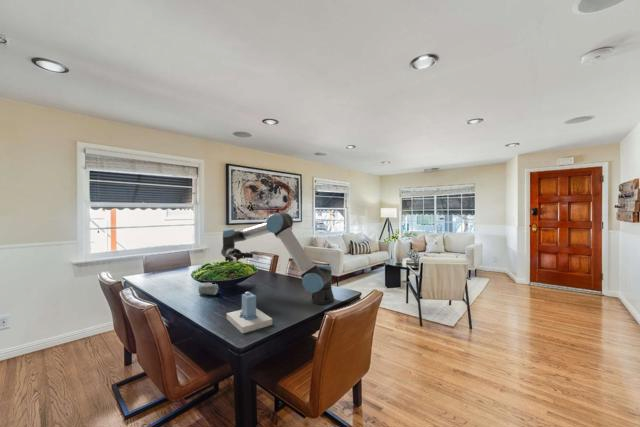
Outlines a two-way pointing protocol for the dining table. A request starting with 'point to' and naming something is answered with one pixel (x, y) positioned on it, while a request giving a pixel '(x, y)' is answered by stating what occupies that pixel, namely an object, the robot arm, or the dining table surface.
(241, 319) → the frame
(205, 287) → the spool
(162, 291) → the dining table surface
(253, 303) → the servo
